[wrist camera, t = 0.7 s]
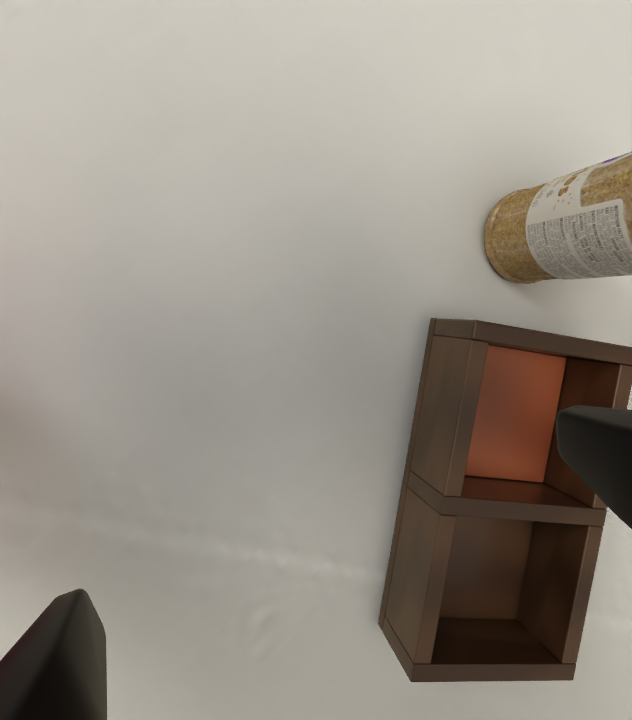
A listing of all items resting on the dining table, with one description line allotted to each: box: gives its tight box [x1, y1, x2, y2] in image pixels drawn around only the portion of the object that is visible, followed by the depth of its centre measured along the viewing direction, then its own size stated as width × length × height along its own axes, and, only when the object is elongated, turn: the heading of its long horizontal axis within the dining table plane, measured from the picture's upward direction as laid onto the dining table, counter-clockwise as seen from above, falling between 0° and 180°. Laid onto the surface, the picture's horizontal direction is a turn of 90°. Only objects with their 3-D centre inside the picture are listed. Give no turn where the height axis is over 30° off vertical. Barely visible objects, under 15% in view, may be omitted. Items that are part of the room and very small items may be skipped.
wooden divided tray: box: [378, 318, 632, 682], centre depth 24 cm, size 15×8×4 cm, turn 170°
